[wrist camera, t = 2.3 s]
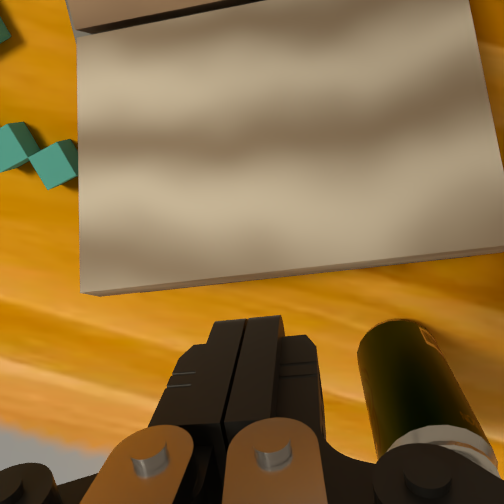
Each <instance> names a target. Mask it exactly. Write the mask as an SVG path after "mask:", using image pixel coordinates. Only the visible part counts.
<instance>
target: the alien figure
mask: <svg viewBox="0 0 504 504" xmlns="http://www.w3.org/2000/svg"><path fill="white" fill-rule="evenodd" d="M10 37H12V36H11V35H10V33H9V31H8V29H7V28H6V26H5V24H4V22H3V21H2V19H1V17H0V43H2V42H4V41H5V40H7V39H8V38H10ZM28 161H30V162H31V164H32V165H33V167H34V169H35V170H36V172H37V173H38V175H39V177H40V178H41V180H42V182H43V183H44V185H45V187H46V188H47V190H49V189H51V188H54V187H56V186H59V185H61V184H63V183H65V182H67V181H69V180H71V179H73V178H75V177H77V176H79V171H78V151H77V150H76V148H75V146H74V144H73V143H72V141H71V139H68V140H63V141H59V142H56V143H54V144H52V145H50V146H48V147H47V148H45V149H43V150H40V148H39V146H38V145H37V143H36V141H35V140H34V138H33V136H32V135H31V133H30V131H29V130H28V128H27V126H26V125H25V123H24V122H18V123H10V124H6V125H5V126H3V127H1V128H0V173H1V172H4V171H8V170H11V169H15V168H17V167H19V166H21V165H23V164H25V163H27V162H28Z"/></svg>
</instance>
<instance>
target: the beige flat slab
mask: <svg viewBox="0 0 504 504" xmlns="http://www.w3.org/2000/svg"><path fill="white" fill-rule="evenodd" d="M77 102H78V171H79V240H80V293H84V294H89V295H94V296H100V297H101V296H110V295H119V294H128V293H137V292H146V291H155V290H164V289H173V288H182V287H191V286H201V285H210V284H219V283H228V282H237V281H246V280H255V279H264V278H273V277H282V276H292V275H301V274H310V273H319V272H328V271H337V270H346V269H355V268H364V267H373V266H382V265H392V264H401V263H410V262H419V261H428V260H437V259H446V258H455V257H464V256H473V255H482V254H492V253H501V252H504V171H503V166H502V161H501V156H500V151H499V146H498V141H497V136H496V131H495V127H494V122H493V117H492V112H491V107H490V102H489V97H488V92H487V87H486V83H485V78H484V73H483V68H482V63H481V58H480V53H479V48H478V43H477V39H476V34H475V29H474V24H473V19H472V14H471V9H470V4H469V0H265V1H260V2H255V3H250V4H245V5H240V6H235V7H229V8H224V9H219V10H214V11H209V12H204V13H199V14H194V15H189V16H184V17H179V18H174V19H169V20H164V21H159V22H154V23H148V24H143V25H138V26H133V27H128V28H123V29H118V30H113V31H108V32H103V33H98V34H93V35H88V36H83V37H78V38H77Z"/></svg>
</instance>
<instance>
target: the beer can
mask: <svg viewBox="0 0 504 504" xmlns="http://www.w3.org/2000/svg"><path fill="white" fill-rule="evenodd" d="M357 357H358V366H359V371H360V376H361V381H362V385H363V390H364V395H365V400H366V405H367V410H368V415H369V420H370V425H371V429H372V434H373V439H374V444H375V449H376V454H377V459H378V460H379V459H380V457H381V456H383V455H384V454H385V453H386V452H388V451H389V450H391V449H393V448H395V447H398V446H401V445H405V444H411V443H428V444H435V445H439V446H443V447H446V448H448V449H451V450H453V451H455V452H457V453H459V454H461V455H463V456H464V457H466V458H468V459H469V460H471V461H472V462H474V463H476V464H477V465H479V466H481V467H482V468H484V469H486V470H487V471H489V472H491V473H492V474H494V475H495V476H497V477H499V478H500V476H499V473H498V461H497V459H496V456H495V454H494V451H493V449H492V447H491V445H490V443H489V441H488V439H487V437H486V435H485V434H484V432H483V430H482V428H481V426H480V424H479V422H478V420H477V418H476V417H475V415H474V413H473V411H472V409H471V407H470V405H469V403H468V401H467V400H466V398H465V396H464V394H463V392H462V390H461V388H460V386H459V384H458V382H457V381H456V379H455V377H454V375H453V373H452V371H451V369H450V367H449V365H448V364H447V362H446V360H445V358H444V356H443V354H442V352H441V350H440V348H439V346H438V345H437V343H436V341H435V339H434V337H433V336H432V335H431V334H430V333H429V332H428V331H427V329H426V328H424V327H422V326H420V325H418V324H416V323H414V322H411V321H406V320H402V319H394V320H387V321H384V322H381V323H378V324H377V325H375V326H374V327H373V328H371V329H370V330H369V331H368V332H367V334H366V335H365V336H364V338H363V339H362V340H361V342H360V345H359V348H358V351H357ZM500 479H501V478H500Z"/></svg>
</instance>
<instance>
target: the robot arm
mask: <svg viewBox="0 0 504 504" xmlns="http://www.w3.org/2000/svg"><path fill="white" fill-rule="evenodd" d="M172 374H173V376H171V377H170V379H169V382H168V384H167V388H166V389H165V390H164V393H163V395H162V397H161V399H160V401H159V403H158V406H157V408H156V410H155V412H154V414H153V417H152V419H151V421H150V423H149V425H148V428H145V429H142V430H140V431H137V432H135V433H134V434H132V435H130V436H128V437H127V438H125V439H124V440H123V441H122V442H120V443H119V444H118V445H117V446H116V447H115V448H114V449H113V451H112V452H111V453H110V455H109V456H108V458H107V460H106V461H105V463H104V465H103V466H102V468H101V469H100V471H99V473H97V474H94V475H91V476H87V477H84V478H81V479H77V480H75V481H71V482H67V483H65V484H61V485H58V486H57V485H56V483H55V480H54V477H53V475H52V472H51V471H50V470H49V468H48V467H47V466H45V465H43V464H39V463H25V464H19V465H15V466H12V467H9V468H7V469H4V470H2V471H0V504H504V480H502V479H500V478H499V477H497V476H495V475H494V474H492V473H491V472H489V471H487V470H486V469H484V468H482V467H481V466H479V465H477V464H476V463H474V462H472V461H471V460H469V459H468V458H466V457H464V456H463V455H461V454H459V453H457V452H455V451H453V450H451V449H448V448H446V447H443V446H439V445H435V444H428V443H411V444H405V445H401V446H398V447H395V448H393V449H391V450H389V451H388V452H386V453H385V454H384V455H383V456H381V457H380V459H379V460H378V461H377V463H376V464H373V463H368V462H364V461H359V460H356V459H352V458H350V457H347V456H345V455H343V454H341V453H339V452H338V451H336V450H335V449H334V448H332V447H331V446H330V445H329V444H328V443H327V441H326V430H325V415H324V403H323V395H322V388H321V380H320V372H319V365H318V357H317V349H316V346H315V345H314V343H313V342H312V341H311V340H310V339H309V338H308V337H307V335H297V336H286V337H285V332H284V326H283V321H282V317H281V315H276V316H266V317H256V318H249V319H236V320H226V321H216V322H214V324H213V327H212V330H211V332H210V335H209V338H208V340H207V343H206V344H199V345H193V346H192V347H191V348H190V349H189V350H188V351H187V352H185V353H184V354H183V355H182V356H181V357H180V358H179V360H178V362H177V364H176V366H175V368H174V371H173V373H172Z"/></svg>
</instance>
